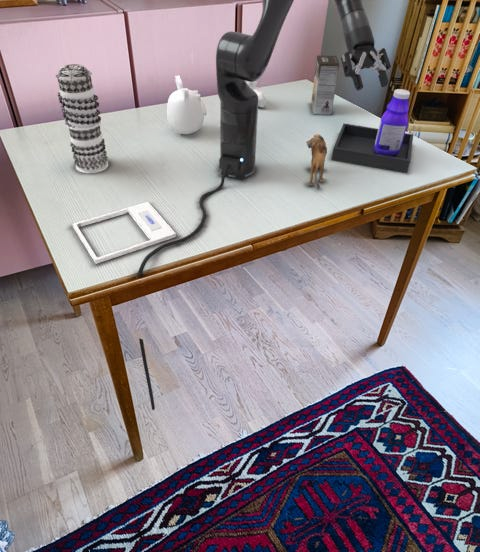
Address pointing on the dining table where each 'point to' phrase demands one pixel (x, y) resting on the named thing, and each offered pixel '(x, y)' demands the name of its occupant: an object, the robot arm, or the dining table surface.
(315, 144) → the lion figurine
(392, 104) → the bottle
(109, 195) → the dining table surface
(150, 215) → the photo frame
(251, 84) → the bust
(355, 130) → the shallow square tray
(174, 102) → the piggy bank
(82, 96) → the decorative candle
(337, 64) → the coffee box
